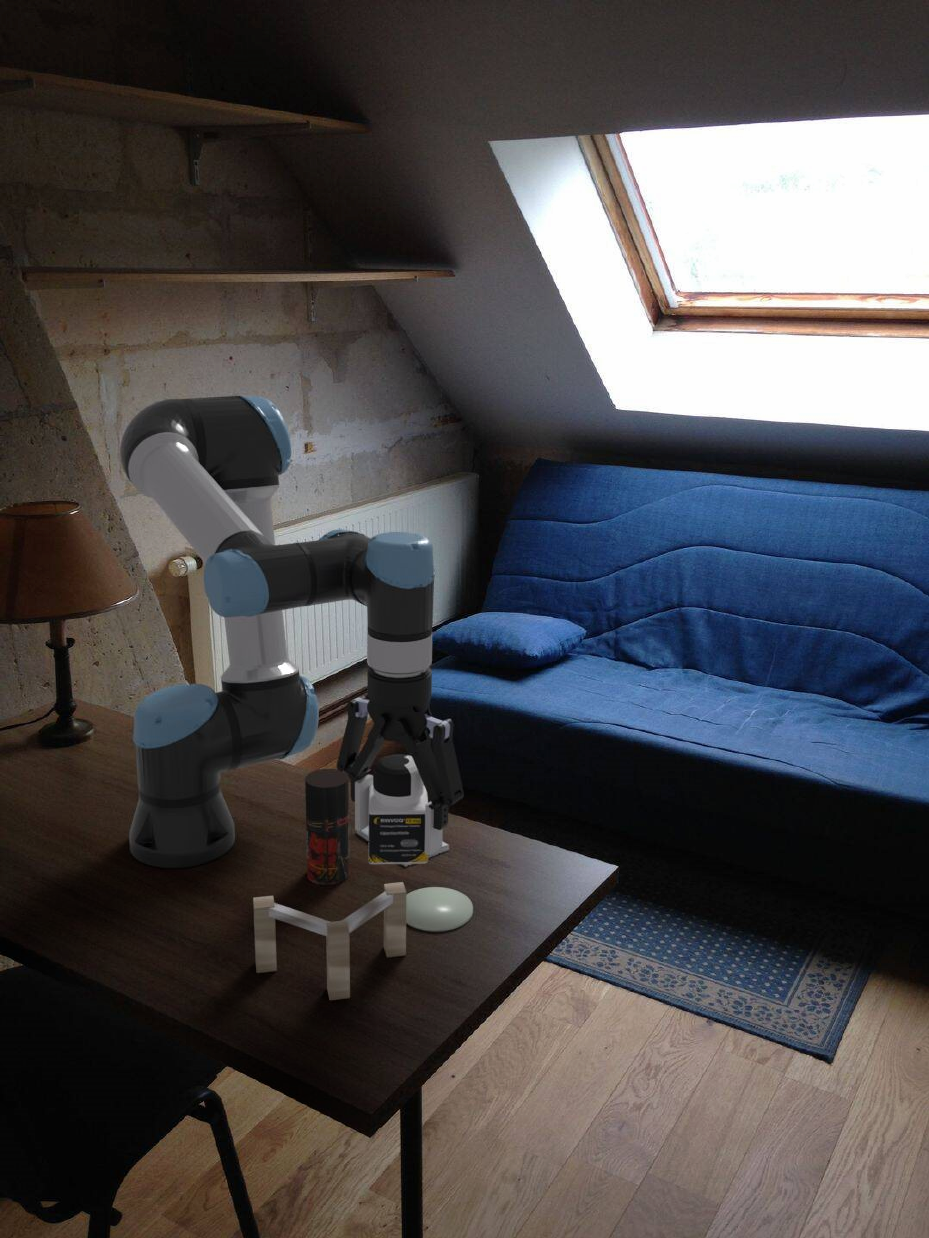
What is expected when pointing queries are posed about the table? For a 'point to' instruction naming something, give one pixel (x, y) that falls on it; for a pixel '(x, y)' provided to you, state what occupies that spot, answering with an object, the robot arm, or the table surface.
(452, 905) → the pad
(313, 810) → the deodorant
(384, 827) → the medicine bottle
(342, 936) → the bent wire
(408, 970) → the table surface
